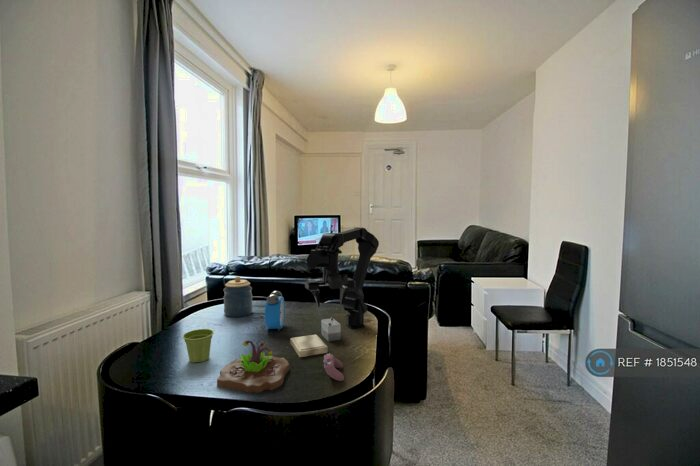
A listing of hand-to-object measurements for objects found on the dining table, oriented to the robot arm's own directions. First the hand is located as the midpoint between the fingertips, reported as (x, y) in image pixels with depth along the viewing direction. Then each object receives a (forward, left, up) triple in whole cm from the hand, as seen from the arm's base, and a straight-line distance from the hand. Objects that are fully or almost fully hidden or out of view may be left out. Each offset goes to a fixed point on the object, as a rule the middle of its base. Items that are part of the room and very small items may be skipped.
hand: (330, 306), depth 137 cm
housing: (0, 0, -12) cm, 12 cm away
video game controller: (+9, +29, -12) cm, 33 cm away
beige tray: (+11, +7, -12) cm, 18 cm away
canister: (+30, -45, -12) cm, 55 cm away
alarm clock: (+18, -18, -12) cm, 28 cm away
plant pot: (+47, +2, -12) cm, 48 cm away
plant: (+32, +20, -13) cm, 40 cm away
